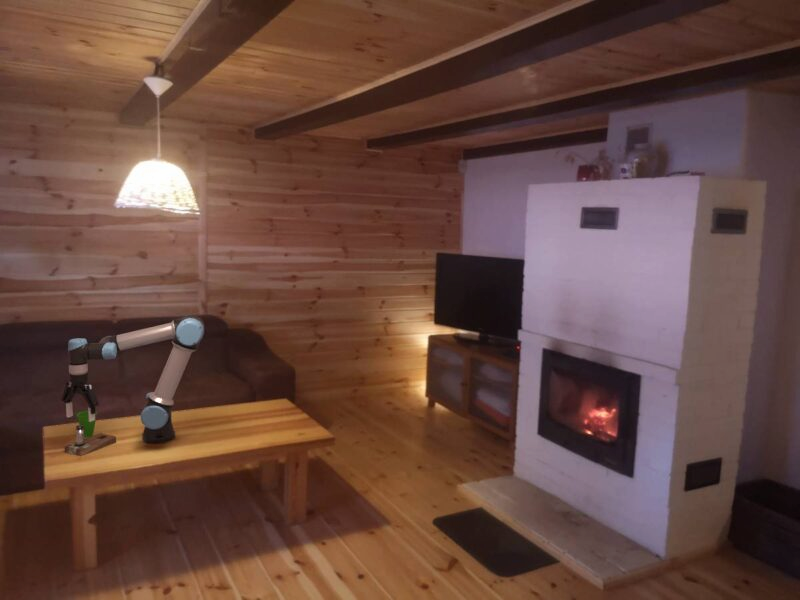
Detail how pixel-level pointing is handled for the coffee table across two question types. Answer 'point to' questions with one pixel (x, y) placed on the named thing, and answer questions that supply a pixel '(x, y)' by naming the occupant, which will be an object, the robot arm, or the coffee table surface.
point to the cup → (86, 423)
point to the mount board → (90, 444)
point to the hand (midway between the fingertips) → (80, 418)
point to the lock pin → (79, 435)
